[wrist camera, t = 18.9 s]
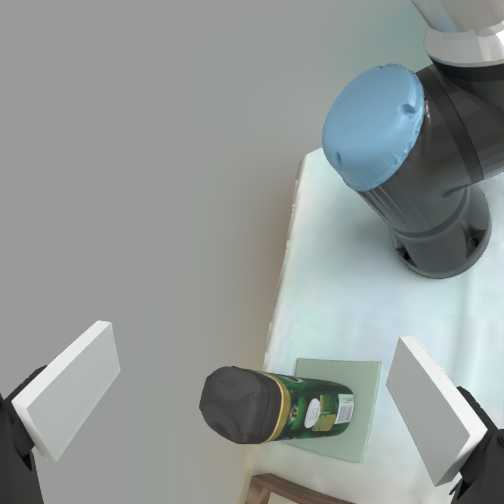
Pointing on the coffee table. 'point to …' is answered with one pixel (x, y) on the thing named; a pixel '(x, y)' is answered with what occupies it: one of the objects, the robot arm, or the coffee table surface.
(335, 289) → the coffee table surface
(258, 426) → the coffee jar
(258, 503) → the walnut caddy
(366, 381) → the sage mat
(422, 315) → the coffee table surface
